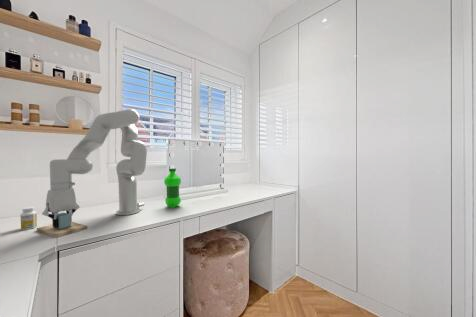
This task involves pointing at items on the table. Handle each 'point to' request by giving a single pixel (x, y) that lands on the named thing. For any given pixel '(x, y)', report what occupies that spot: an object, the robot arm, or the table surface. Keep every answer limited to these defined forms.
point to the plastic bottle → (172, 188)
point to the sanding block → (64, 220)
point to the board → (57, 232)
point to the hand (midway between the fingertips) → (62, 225)
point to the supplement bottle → (28, 218)
